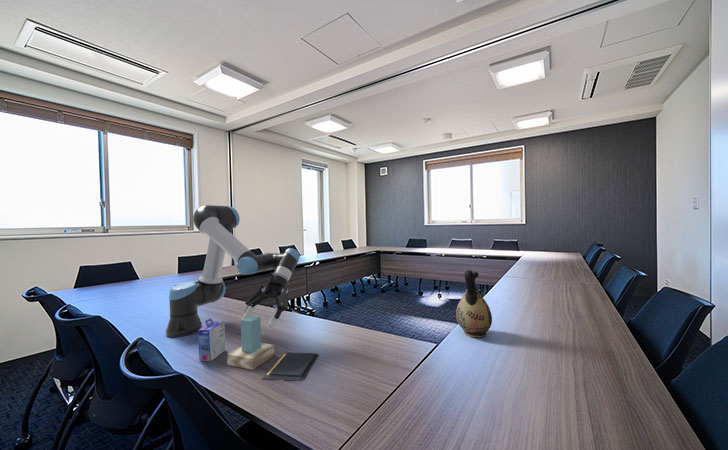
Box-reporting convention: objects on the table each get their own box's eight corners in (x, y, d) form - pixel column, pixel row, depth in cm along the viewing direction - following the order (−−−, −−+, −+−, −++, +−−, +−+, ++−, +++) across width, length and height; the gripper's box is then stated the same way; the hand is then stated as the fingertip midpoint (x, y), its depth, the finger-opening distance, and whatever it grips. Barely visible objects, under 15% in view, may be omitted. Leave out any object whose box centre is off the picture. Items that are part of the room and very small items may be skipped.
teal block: (241, 351, 107) (240, 320, 107) (251, 345, 111) (250, 316, 111) (251, 353, 105) (251, 321, 105) (261, 347, 110) (260, 317, 110)
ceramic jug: (461, 325, 139) (460, 265, 139) (495, 332, 130) (494, 268, 130) (450, 337, 126) (449, 270, 125) (487, 345, 117) (485, 273, 116)
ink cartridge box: (213, 349, 118) (213, 315, 118) (226, 350, 117) (225, 315, 117) (197, 361, 108) (196, 323, 108) (211, 361, 107) (210, 324, 107)
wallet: (302, 378, 92) (259, 375, 94) (302, 384, 92) (259, 381, 94) (320, 351, 112) (285, 349, 114) (321, 355, 112) (285, 354, 114)
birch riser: (227, 364, 105) (227, 354, 105) (250, 350, 116) (250, 341, 116) (252, 369, 101) (252, 358, 101) (274, 354, 112) (274, 345, 112)
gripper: (307, 285, 123) (287, 331, 109) (262, 281, 132) (237, 324, 118) (300, 275, 118) (277, 323, 104) (253, 272, 127) (227, 316, 113)
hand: (256, 323), depth 111 cm, fingers open, 13 cm apart
